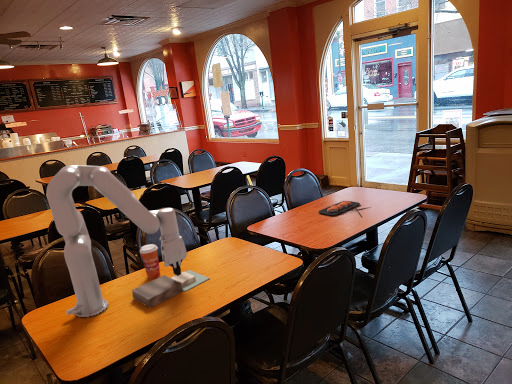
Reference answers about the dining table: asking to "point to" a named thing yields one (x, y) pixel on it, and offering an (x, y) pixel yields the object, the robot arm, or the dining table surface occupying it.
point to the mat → (198, 280)
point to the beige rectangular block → (184, 278)
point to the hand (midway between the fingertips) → (177, 274)
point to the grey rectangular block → (157, 291)
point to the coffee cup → (150, 260)
